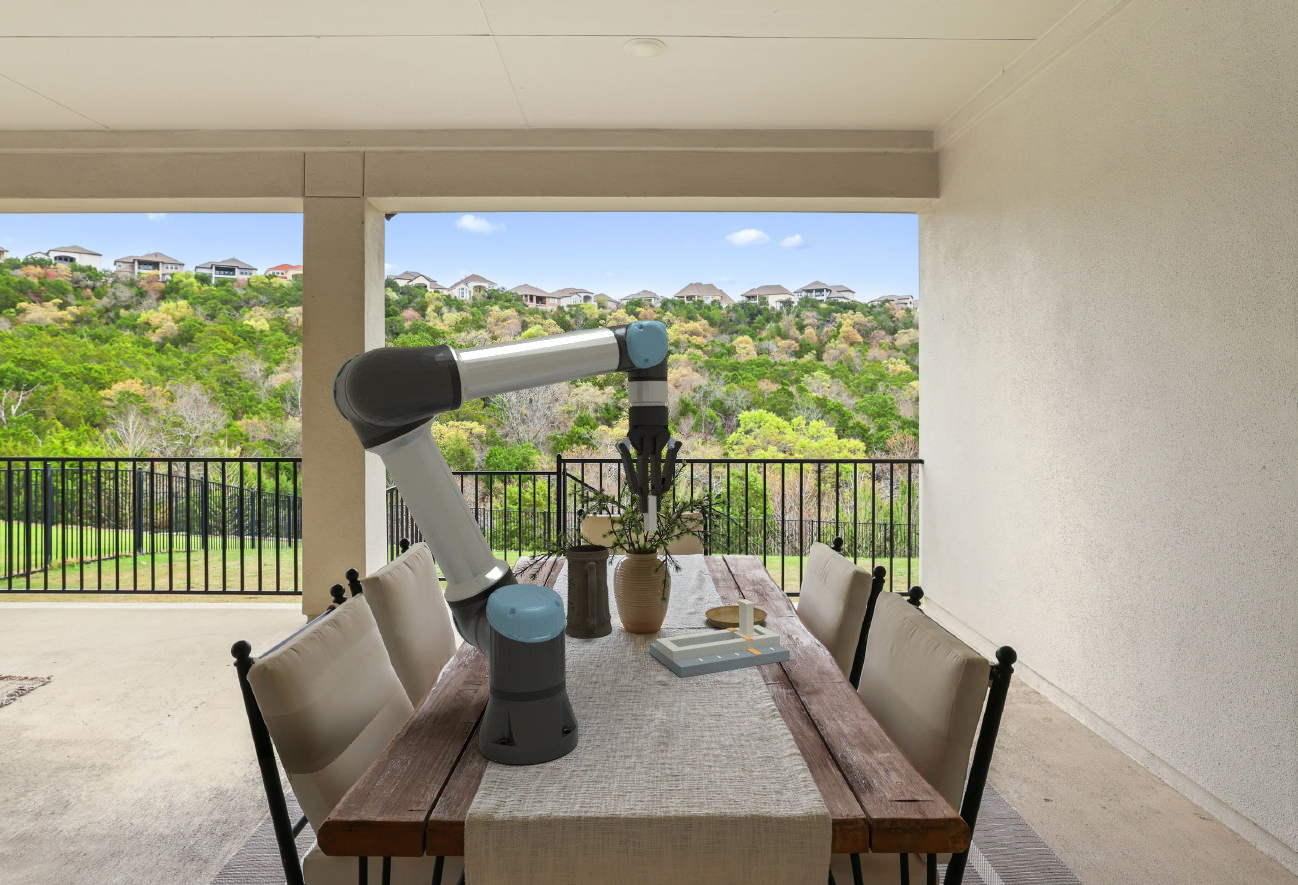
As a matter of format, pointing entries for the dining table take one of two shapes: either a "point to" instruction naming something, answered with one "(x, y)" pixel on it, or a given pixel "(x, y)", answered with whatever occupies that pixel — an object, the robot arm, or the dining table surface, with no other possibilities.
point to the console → (718, 651)
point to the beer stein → (588, 592)
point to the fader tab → (745, 619)
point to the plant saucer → (731, 616)
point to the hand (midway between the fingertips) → (650, 529)
